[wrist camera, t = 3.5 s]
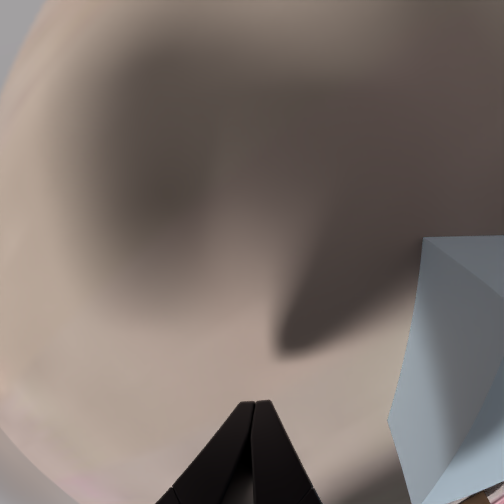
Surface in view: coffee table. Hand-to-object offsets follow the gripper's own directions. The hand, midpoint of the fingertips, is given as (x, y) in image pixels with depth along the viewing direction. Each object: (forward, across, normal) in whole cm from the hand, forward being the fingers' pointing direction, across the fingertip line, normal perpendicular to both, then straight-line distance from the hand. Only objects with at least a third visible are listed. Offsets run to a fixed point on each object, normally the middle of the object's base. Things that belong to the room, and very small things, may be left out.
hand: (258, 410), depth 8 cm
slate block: (+2, -9, 0) cm, 9 cm away
